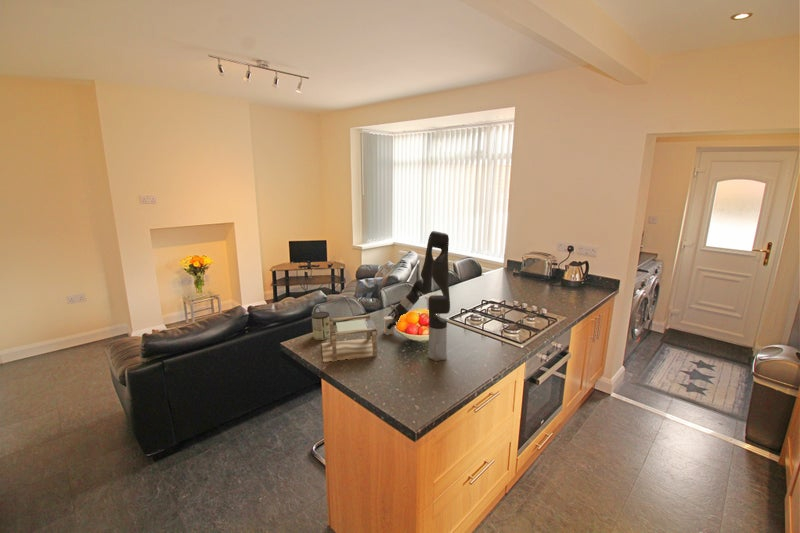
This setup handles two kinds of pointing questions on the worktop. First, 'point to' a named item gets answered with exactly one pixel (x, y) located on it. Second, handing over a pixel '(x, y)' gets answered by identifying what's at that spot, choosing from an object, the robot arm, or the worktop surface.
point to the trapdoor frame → (349, 343)
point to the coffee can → (321, 325)
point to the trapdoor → (355, 325)
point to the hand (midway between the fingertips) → (386, 326)
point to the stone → (386, 322)
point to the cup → (428, 299)
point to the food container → (392, 307)
